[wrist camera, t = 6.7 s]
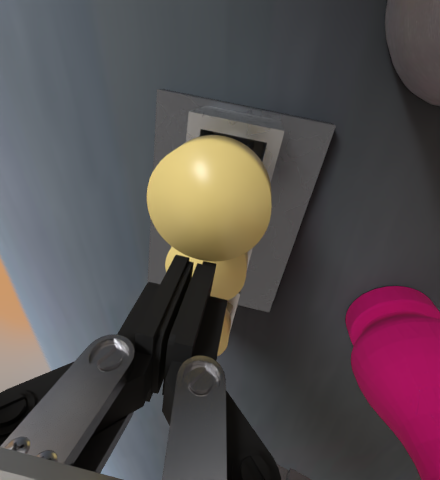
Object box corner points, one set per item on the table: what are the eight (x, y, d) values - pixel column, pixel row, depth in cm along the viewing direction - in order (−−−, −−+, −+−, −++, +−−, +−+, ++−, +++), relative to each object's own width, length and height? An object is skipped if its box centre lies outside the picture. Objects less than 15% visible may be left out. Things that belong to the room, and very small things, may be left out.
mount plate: (163, 89, 16) (124, 90, 12) (332, 123, 16) (355, 137, 12) (152, 275, 23) (125, 319, 19) (269, 303, 23) (269, 354, 19)
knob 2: (196, 187, 17) (168, 227, 13) (258, 201, 17) (254, 246, 12) (189, 241, 19) (162, 293, 15) (245, 254, 19) (236, 311, 14)
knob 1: (195, 112, 13) (149, 129, 8) (280, 130, 13) (287, 158, 8) (185, 194, 15) (144, 247, 10) (259, 210, 15) (254, 272, 10)
